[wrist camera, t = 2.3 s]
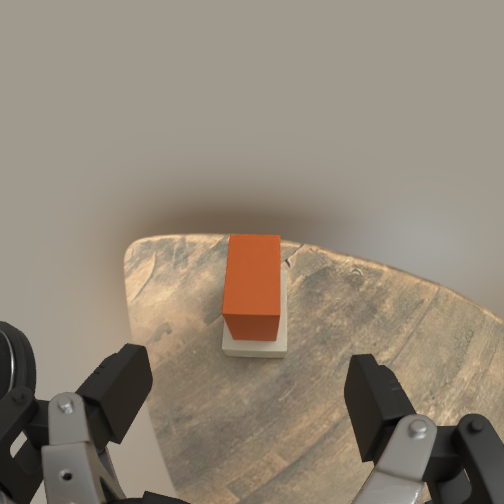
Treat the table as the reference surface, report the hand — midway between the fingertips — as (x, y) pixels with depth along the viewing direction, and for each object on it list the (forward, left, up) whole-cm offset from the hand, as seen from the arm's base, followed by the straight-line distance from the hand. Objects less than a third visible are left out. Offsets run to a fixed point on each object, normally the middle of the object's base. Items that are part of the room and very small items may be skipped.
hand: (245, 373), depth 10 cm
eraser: (+5, +3, -11) cm, 12 cm away
